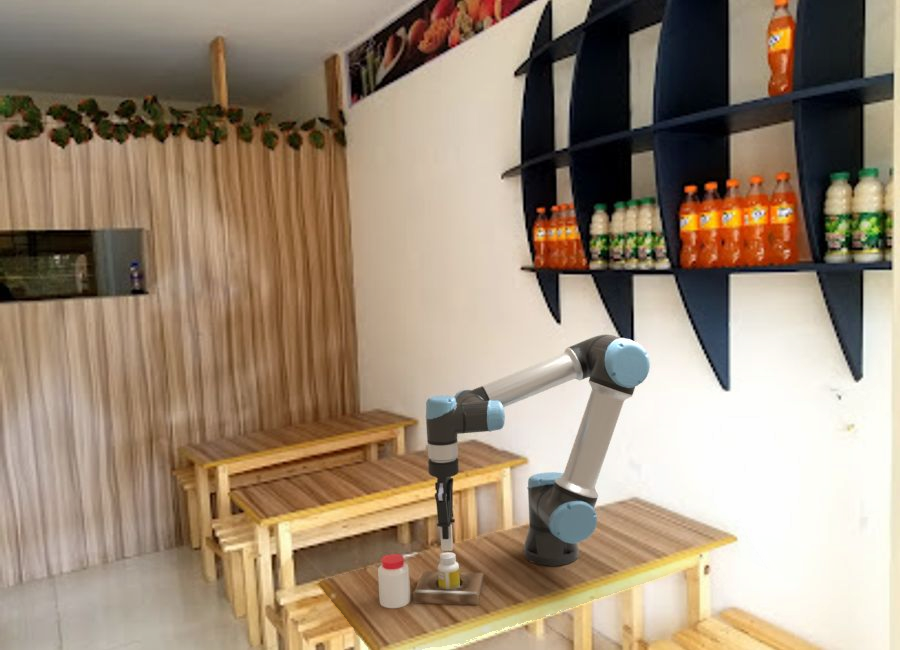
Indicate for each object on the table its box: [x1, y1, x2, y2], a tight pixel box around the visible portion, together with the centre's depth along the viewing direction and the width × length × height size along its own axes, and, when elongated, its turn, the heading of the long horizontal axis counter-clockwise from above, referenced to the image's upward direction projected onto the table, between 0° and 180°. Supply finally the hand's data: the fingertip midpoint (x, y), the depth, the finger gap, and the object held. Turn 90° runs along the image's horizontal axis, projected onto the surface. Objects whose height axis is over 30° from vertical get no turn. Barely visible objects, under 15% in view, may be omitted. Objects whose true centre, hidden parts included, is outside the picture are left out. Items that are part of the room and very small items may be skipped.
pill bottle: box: [377, 553, 411, 609], centre depth 177 cm, size 8×8×11 cm
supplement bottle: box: [437, 551, 460, 589], centre depth 180 cm, size 5×5×10 cm
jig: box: [412, 570, 485, 606], centre depth 180 cm, size 16×12×3 cm
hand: (447, 549), depth 179 cm, fingers closed
